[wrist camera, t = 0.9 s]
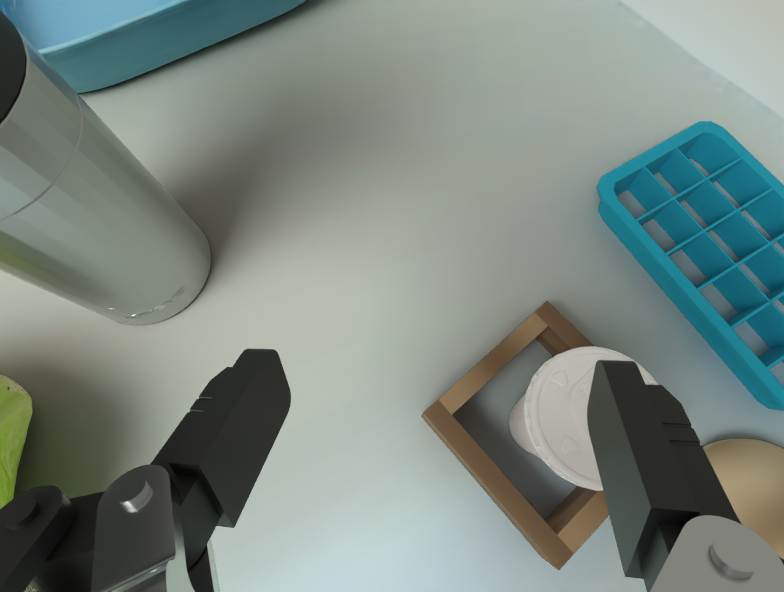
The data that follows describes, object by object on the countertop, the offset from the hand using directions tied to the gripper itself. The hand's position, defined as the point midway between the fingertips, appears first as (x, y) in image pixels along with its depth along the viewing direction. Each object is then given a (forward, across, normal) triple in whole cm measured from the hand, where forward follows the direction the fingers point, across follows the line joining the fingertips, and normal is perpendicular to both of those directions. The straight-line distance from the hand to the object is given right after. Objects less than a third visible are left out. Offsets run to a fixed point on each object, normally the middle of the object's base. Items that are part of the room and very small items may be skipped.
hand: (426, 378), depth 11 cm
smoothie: (+12, -5, +16) cm, 21 cm away
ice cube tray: (+24, -19, +11) cm, 32 cm away
